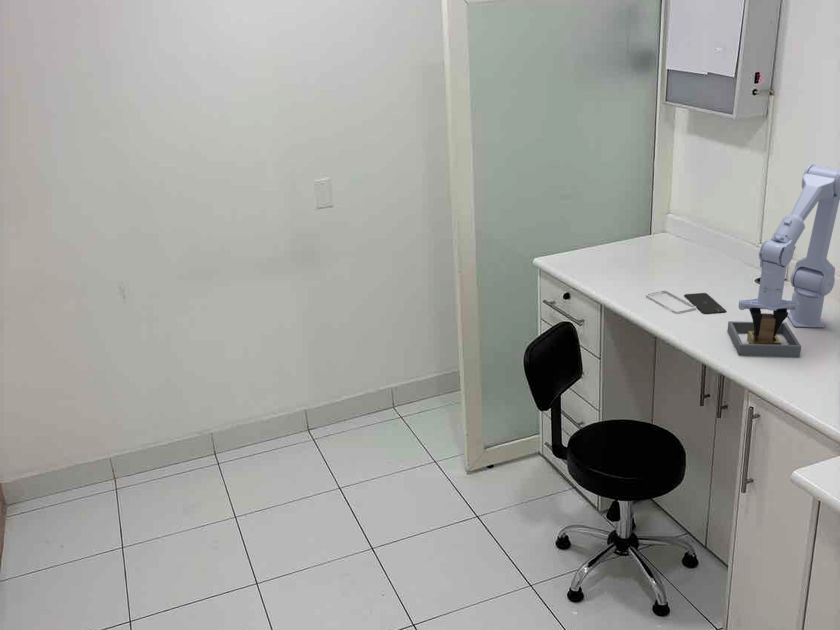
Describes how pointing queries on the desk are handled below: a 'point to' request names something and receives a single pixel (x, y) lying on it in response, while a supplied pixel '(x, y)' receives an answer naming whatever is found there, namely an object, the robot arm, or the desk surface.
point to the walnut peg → (766, 328)
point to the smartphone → (705, 303)
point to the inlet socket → (752, 340)
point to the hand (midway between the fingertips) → (764, 334)
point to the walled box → (763, 349)
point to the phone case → (675, 298)
